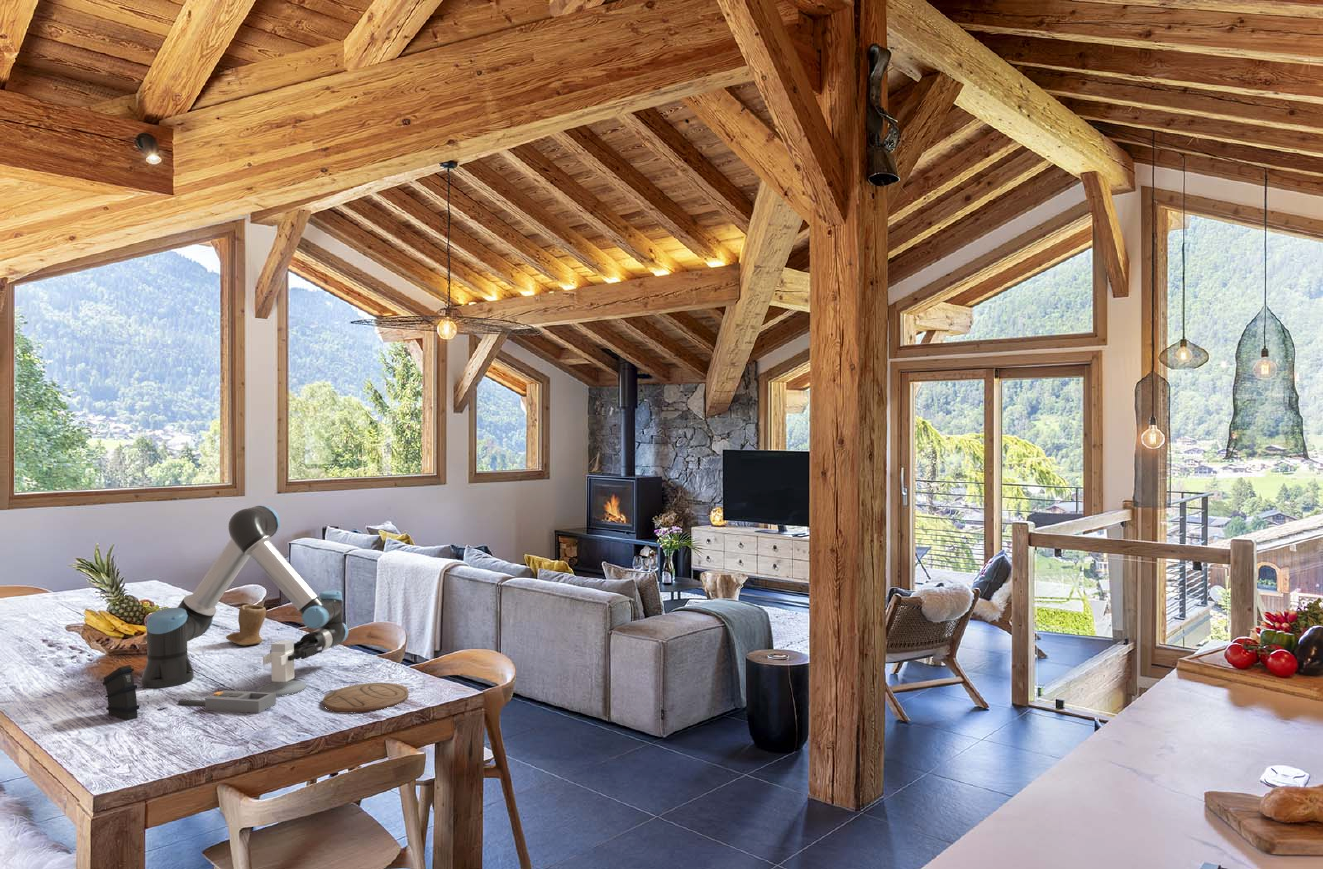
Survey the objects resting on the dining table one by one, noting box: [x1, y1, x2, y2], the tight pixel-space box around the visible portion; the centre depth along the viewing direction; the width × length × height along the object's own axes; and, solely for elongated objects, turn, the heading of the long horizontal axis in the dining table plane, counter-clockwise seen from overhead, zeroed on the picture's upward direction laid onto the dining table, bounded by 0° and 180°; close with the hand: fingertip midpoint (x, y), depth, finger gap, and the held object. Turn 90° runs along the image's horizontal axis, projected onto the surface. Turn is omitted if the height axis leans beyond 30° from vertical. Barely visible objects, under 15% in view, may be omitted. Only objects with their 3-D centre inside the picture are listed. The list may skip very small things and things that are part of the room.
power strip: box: [178, 689, 277, 714], centre depth 259 cm, size 30×8×4 cm, turn 79°
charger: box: [270, 639, 295, 682], centre depth 274 cm, size 5×4×12 cm
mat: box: [257, 680, 307, 697], centre depth 274 cm, size 14×14×1 cm
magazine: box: [102, 664, 140, 721], centre depth 251 cm, size 4×13×15 cm, turn 58°
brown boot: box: [225, 604, 267, 646], centre depth 337 cm, size 15×12×15 cm
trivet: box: [322, 682, 409, 714], centre depth 264 cm, size 25×25×2 cm
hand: (272, 660), depth 269 cm, fingers closed on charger, 5 cm apart
